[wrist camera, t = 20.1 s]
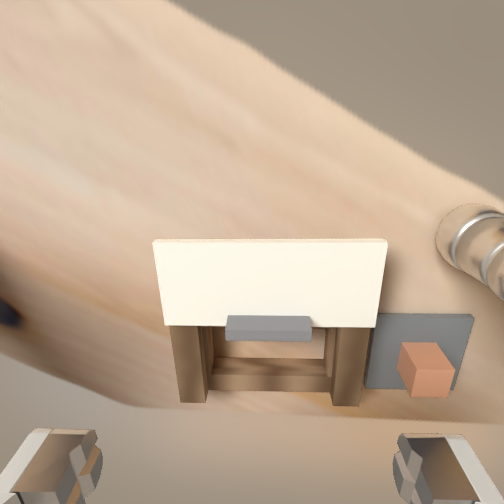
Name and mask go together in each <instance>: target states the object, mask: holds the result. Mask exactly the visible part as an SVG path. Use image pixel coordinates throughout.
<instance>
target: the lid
mask: <svg viewBox="0 0 504 504" xmlns="http://www.w3.org/2000/svg"><path fill="white" fill-rule="evenodd" d="M152 244H153V250H154V257H155V263H156V270H157V276H158V283H159V289H160V296H161V302H162V309H163V315H164V322H165V325H182V326H226V328H225V338H226V341H298V342H311V340H312V328H311V327H370V328H375V325H376V318H377V312H378V305H379V299H380V292H381V286H382V279H383V273H384V266H385V260H386V253H387V247H388V242H387V241H386V240H385V239H156V240H155V241H154V242H153V243H152Z"/></svg>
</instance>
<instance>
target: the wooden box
mask: <svg viewBox="0 0 504 504" xmlns="http://www.w3.org/2000/svg"><path fill="white" fill-rule="evenodd" d="M169 327H170V334H171V340H172V347H173V354H174V361H175V368H176V374H177V381H178V388H179V395H180V402H183V403H206V398H207V394H208V390H237V391H285V392H330V394H331V399H332V404H333V406H359V403H360V396H361V390H362V383H363V376H364V369H365V362H366V356H367V349H368V342H369V335H370V327H311V328H326V336H325V348H324V359H280V358H216V357H214V345H213V333H212V327H226V326H182V325H169Z"/></svg>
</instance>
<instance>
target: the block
mask: <svg viewBox="0 0 504 504" xmlns="http://www.w3.org/2000/svg"><path fill="white" fill-rule="evenodd" d="M397 370H398V372H399V374H400V376H401V378H402V380H403V382H404V384H405V386H406V388H407V390H408V392H409V395H410V397H435V398H447V397H448V394H449V390H450V387H451V383H452V380H453V376H454V373H455V369H454V367H453V366H452V365H451V363H450V362H449V360H448V359H447V357H446V356H445V355H444V353H443V352H442V350H441V349H440V347H439V346H438V345H437V343H429V342H402V343H401V349H400V354H399V359H398V364H397Z"/></svg>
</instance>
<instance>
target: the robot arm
mask: <svg viewBox="0 0 504 504" xmlns="http://www.w3.org/2000/svg"><path fill="white" fill-rule="evenodd" d="M96 441H97V435H96V433H95V430H81V429H57V428H36V429H35V430H34V431H32V432H31V433H30V434H29V435H28V437H27V438H26V439H25V441H24V442H23V444H22V445H21V447H20V448H19V449H18V451H17V452H16V454H15V455H14V456H13V458H12V459H11V461H10V462H9V463H8V465H7V466H6V468H5V469H4V470H3V472H2V473H1V475H0V504H86V503H85V498H86V497H87V496H88V495H89V494H90V493H91V492H93V491H94V490H95V488H96V485H97V483H98V480H99V478H100V474H101V469H102V463H103V462H102V459H103V458H102V457H103V456H102V452H101V450H100V449H99V448H98V447H97V446H96V445H95V443H96ZM397 444H398V446H399V449H400V450H399V451H398V452H397V453H396V454H395V455H394V459H393V474H394V479H395V483H396V486H397V489H398V492H399V495H400V496H401V497H402V498H403V499H404V500H405V501H406V502H407V503H408V504H504V499H503V498H502V496H501V494H500V493H499V491H498V489H497V488H496V487H495V485H494V483H493V482H492V480H491V478H490V477H489V475H488V473H487V472H486V470H485V469H484V467H483V465H482V464H481V462H480V461H479V459H478V457H477V456H476V454H475V453H474V451H473V449H472V448H471V446H470V445H469V443H468V441H467V440H466V438H465V437H463V436H462V435H461V434H438V433H436V434H434V433H431V434H429V433H426V434H425V433H424V434H423V433H421V434H401V435H400V436H399V438H398V442H397Z"/></svg>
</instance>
